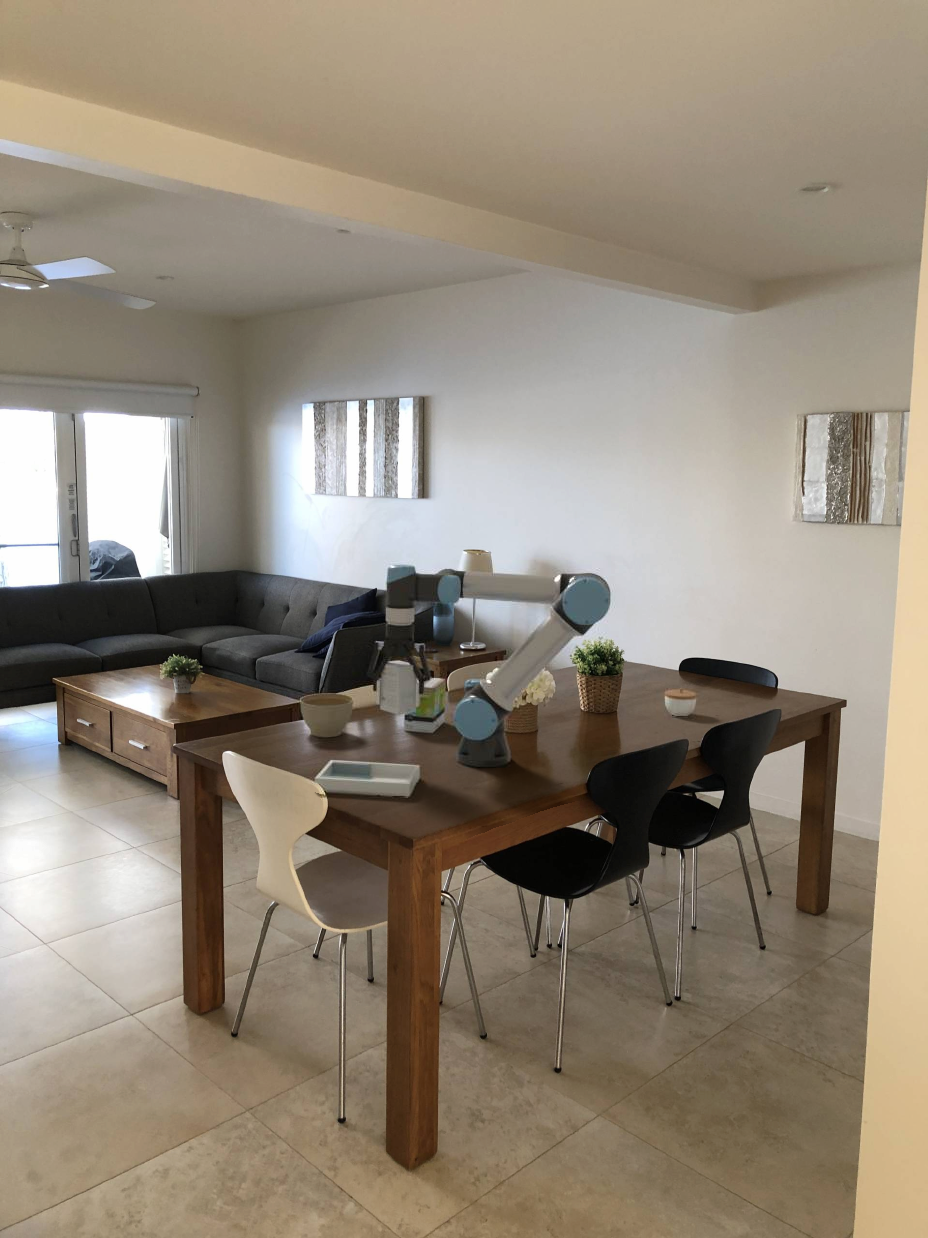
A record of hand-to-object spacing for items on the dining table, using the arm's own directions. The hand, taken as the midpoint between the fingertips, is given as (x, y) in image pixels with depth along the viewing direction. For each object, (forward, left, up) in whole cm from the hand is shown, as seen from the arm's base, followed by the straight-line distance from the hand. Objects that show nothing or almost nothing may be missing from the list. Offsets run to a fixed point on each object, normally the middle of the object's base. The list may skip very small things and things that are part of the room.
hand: (398, 704), depth 266 cm
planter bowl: (+28, -30, -18) cm, 45 cm away
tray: (+5, +16, -18) cm, 24 cm away
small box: (0, 0, -2) cm, 2 cm away
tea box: (0, -45, -18) cm, 49 cm away
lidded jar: (-83, -79, -18) cm, 117 cm away
